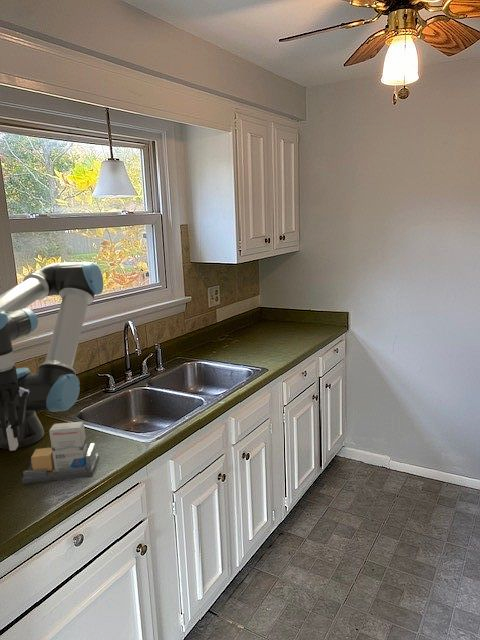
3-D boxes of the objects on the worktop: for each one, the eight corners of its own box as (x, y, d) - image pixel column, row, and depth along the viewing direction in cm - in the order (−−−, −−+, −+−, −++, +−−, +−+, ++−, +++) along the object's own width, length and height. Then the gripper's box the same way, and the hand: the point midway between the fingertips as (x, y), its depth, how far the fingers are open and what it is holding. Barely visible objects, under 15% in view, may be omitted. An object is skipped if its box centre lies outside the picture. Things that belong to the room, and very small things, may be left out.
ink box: (89, 458, 140) (84, 420, 138) (85, 467, 135) (80, 427, 133) (58, 461, 139) (53, 422, 137) (53, 469, 134) (48, 429, 132)
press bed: (34, 464, 142) (31, 447, 140) (98, 458, 144) (96, 440, 143) (22, 483, 131) (19, 465, 130) (92, 476, 133) (90, 458, 132)
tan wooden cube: (38, 463, 139) (36, 449, 138) (56, 461, 139) (54, 447, 138) (33, 472, 134) (31, 457, 133) (51, 470, 134) (49, 455, 133)
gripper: (-31, 375, 126) (-16, 457, 131) (21, 370, 128) (34, 451, 133) (-20, 366, 133) (-6, 444, 139) (29, 361, 135) (41, 439, 140)
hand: (14, 448), depth 136 cm, fingers closed
